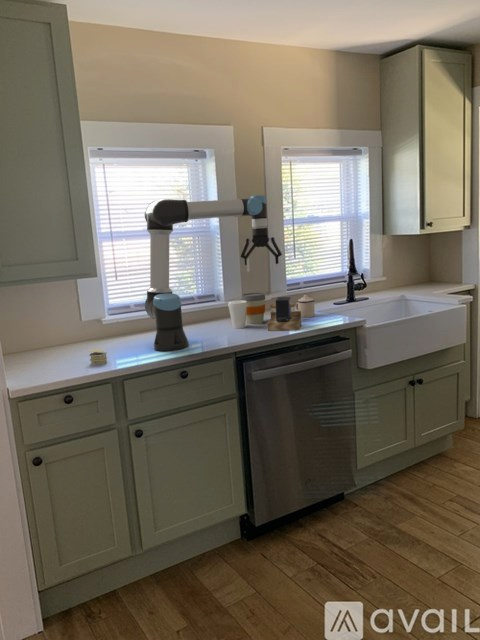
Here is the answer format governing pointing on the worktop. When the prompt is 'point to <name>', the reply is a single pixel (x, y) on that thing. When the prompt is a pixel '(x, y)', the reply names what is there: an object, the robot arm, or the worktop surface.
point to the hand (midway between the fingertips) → (261, 271)
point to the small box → (283, 309)
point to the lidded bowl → (273, 307)
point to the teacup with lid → (306, 307)
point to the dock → (285, 322)
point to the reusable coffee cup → (254, 307)
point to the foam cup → (238, 313)
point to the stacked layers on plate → (98, 356)
